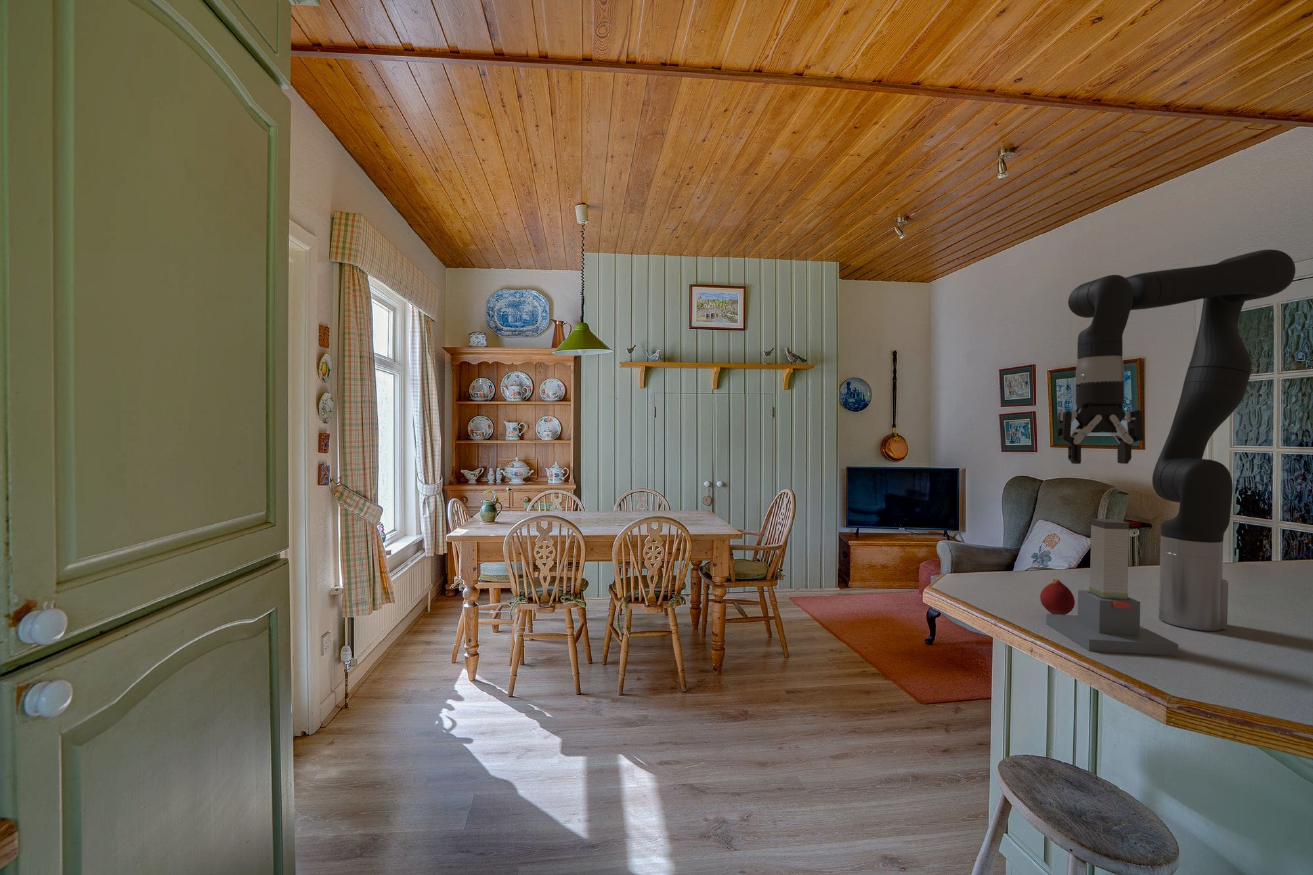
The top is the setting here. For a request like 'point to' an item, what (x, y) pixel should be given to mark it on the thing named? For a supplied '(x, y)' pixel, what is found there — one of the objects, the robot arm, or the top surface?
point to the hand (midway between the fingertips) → (1099, 463)
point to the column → (1109, 559)
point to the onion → (1057, 598)
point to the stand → (1110, 627)
